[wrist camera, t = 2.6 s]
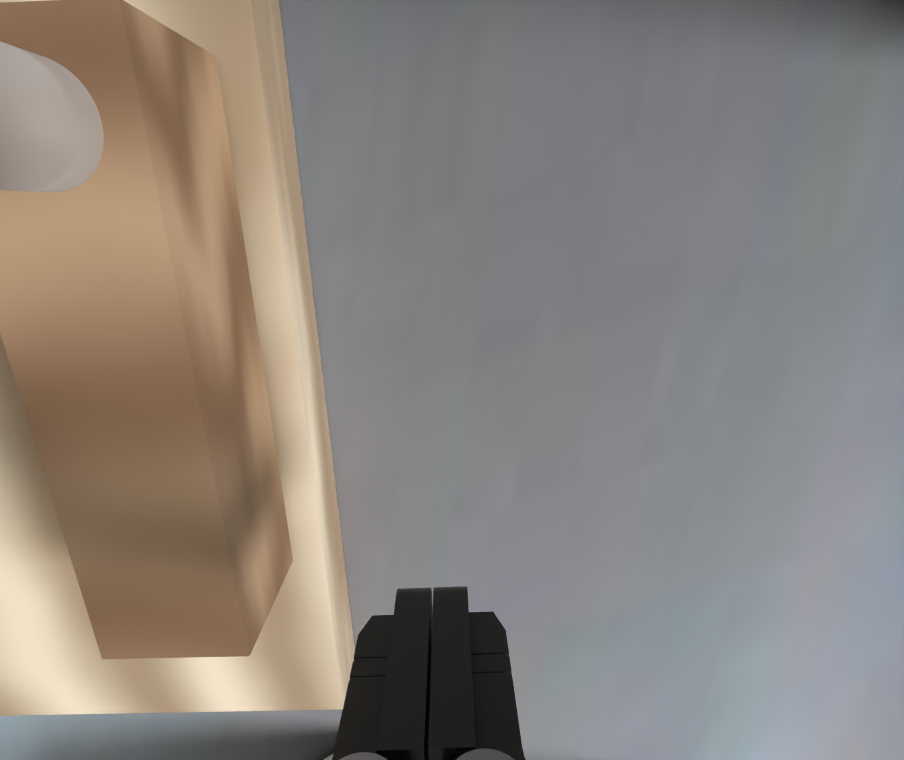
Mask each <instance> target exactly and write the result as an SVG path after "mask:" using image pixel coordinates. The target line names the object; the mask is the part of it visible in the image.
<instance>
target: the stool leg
mask: <svg viewBox="0 0 904 760" xmlns="http://www.w3.org/2000/svg"><path fill="white" fill-rule="evenodd" d="M0 334H1V337H2V340H3V343H4V347H5V350H6V353H7V356H8V359H9V363H10V366H11V369H12V372H13V375H14V379H15V382H16V385H17V388H18V391H19V395H20V398H21V401H22V404H23V407H24V411H25V414H26V417H27V420H28V423H29V427H30V430H31V433H32V436H33V440H34V443H35V446H36V449H37V452H38V456H39V459H40V462H41V465H42V468H43V472H44V475H45V478H46V481H47V484H48V488H49V491H50V494H51V497H52V500H53V504H54V507H55V510H56V513H57V516H58V520H59V523H60V526H61V529H62V532H63V536H64V539H65V542H66V545H67V548H68V552H69V555H70V558H71V561H72V564H73V568H74V571H75V574H76V577H77V581H78V584H79V587H80V590H81V593H82V597H83V600H84V603H85V606H86V609H87V613H88V616H89V619H90V622H91V625H92V629H93V632H94V635H95V638H96V641H97V645H98V648H99V651H100V654H101V657H102V659H142V658H191V657H240V656H250V654H251V652H252V650H253V648H254V645H255V643H256V641H257V639H258V637H259V634H260V632H261V630H262V628H263V626H264V623H265V621H266V619H267V617H268V615H269V612H270V610H271V608H272V606H273V604H274V601H275V599H276V597H277V595H278V593H279V590H280V588H281V586H282V584H283V582H284V579H285V577H286V575H287V573H288V571H289V568H290V566H291V564H292V562H293V557H292V550H291V544H290V537H289V531H288V524H287V518H286V511H285V505H284V498H283V492H282V485H281V479H280V472H279V466H278V459H277V453H276V446H275V440H274V433H273V426H272V420H271V413H270V407H269V400H268V394H267V387H266V381H265V374H264V368H263V361H262V355H261V348H260V342H259V335H258V329H257V322H256V316H255V309H254V303H253V296H252V290H251V283H250V276H249V270H248V263H247V257H246V250H245V244H244V237H243V231H242V224H241V218H240V211H239V205H238V198H237V192H236V185H235V179H234V172H233V166H232V159H231V153H230V146H229V139H228V133H227V126H226V120H225V113H224V107H223V100H222V94H221V87H220V81H219V74H218V68H217V61H216V56H215V55H213V54H211V53H210V52H208V51H206V50H205V49H203V48H201V47H200V46H198V45H196V44H195V43H193V42H192V41H190V40H188V39H187V38H185V37H183V36H182V35H180V34H178V33H177V32H175V31H173V30H172V29H170V28H168V27H167V26H165V25H164V24H162V23H160V22H159V21H157V20H155V19H154V18H152V17H150V16H149V15H147V14H145V13H144V12H142V11H140V10H139V9H137V8H136V7H134V6H132V5H131V4H129V3H127V2H126V1H124V0H48V1H24V2H0Z"/></svg>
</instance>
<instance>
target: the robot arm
mask: <svg viewBox="0 0 904 760" xmlns="http://www.w3.org/2000/svg"><path fill="white" fill-rule="evenodd" d="M332 760H525V757H524V754H523V749H522V743H521V736H520V729H519V722H518V715H517V708H516V701H515V694H514V687H513V679H512V674H511V665H510V658H509V651H508V644H507V637H506V630H505V629H504V627H503V626H502V624H501V623H500V621H499V620H498V618H497V617H496V615H495V614H494V613H493V612H469V611H468V593H467V587H437V588H434V594H433V607H432V590H431V588H410V589H398V590H397V594H396V601H395V609H394V615H378V616H372V617H371V618H370V619H369V621H368V622H367V624H366V625H365V626H364V628H363V629H362V631H361V632H360V633H359V635H358V639H357V644H356V648H355V653H354V661H353V663H352V668H351V673H350V681H349V682H348V687H347V692H346V697H345V701H344V706H343V711H342V716H341V721H340V726H339V730H338V735H337V740H336V745H335V750H334V754H333V758H332Z"/></svg>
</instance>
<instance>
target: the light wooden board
mask: <svg viewBox="0 0 904 760" xmlns="http://www.w3.org/2000/svg"><path fill="white" fill-rule="evenodd" d="M24 1H48V0H0V2H24ZM124 1H126V2H127V3H129V4H131V5H132V6H134V7H136V8H137V9H139V10H140V11H142V12H144V13H145V14H147V15H149V16H150V17H152V18H154V19H155V20H157V21H159V22H160V23H162V24H164V25H165V26H167V27H168V28H170V29H172V30H173V31H175V32H177V33H178V34H180V35H182V36H183V37H185V38H187V39H188V40H190V41H192V42H193V43H195V44H196V45H198V46H200V47H201V48H203V49H205V50H206V51H208V52H210V53H211V54H213V55H215V56H216V61H217V68H218V74H219V81H220V87H221V94H222V100H223V107H224V113H225V120H226V126H227V133H228V139H229V146H230V153H231V159H232V166H233V172H234V179H235V185H236V192H237V198H238V205H239V211H240V218H241V224H242V231H243V237H244V244H245V250H246V257H247V263H248V270H249V276H250V283H251V290H252V296H253V303H254V309H255V316H256V322H257V329H258V335H259V342H260V348H261V355H262V361H263V368H264V374H265V381H266V387H267V394H268V400H269V407H270V413H271V420H272V426H273V433H274V440H275V446H276V453H277V459H278V466H279V472H280V479H281V485H282V492H283V498H284V505H285V511H286V518H287V524H288V531H289V537H290V544H291V550H292V557H293V562H292V564H291V566H290V568H289V571H288V573H287V575H286V577H285V579H284V582H283V584H282V586H281V588H280V590H279V593H278V595H277V597H276V599H275V601H274V604H273V606H272V608H271V610H270V612H269V615H268V617H267V619H266V621H265V623H264V626H263V628H262V630H261V632H260V634H259V637H258V639H257V641H256V643H255V645H254V648H253V650H252V652H251V654H250V656H240V657H191V658H142V659H102V657H101V654H100V651H99V648H98V645H97V641H96V638H95V635H94V632H93V629H92V625H91V622H90V619H89V616H88V613H87V609H86V606H85V603H84V600H83V597H82V593H81V590H80V587H79V584H78V581H77V577H76V574H75V571H74V568H73V564H72V561H71V558H70V555H69V552H68V548H67V545H66V542H65V539H64V536H63V532H62V529H61V526H60V523H59V520H58V516H57V513H56V510H55V507H54V504H53V500H52V497H51V494H50V491H49V488H48V484H47V481H46V478H45V475H44V472H43V468H42V465H41V462H40V459H39V456H38V452H37V449H36V446H35V443H34V440H33V436H32V433H31V430H30V427H29V423H28V420H27V417H26V414H25V411H24V407H23V404H22V401H21V398H20V395H19V391H18V388H17V385H16V382H15V379H14V375H13V372H12V369H11V366H10V363H9V359H8V356H7V353H6V350H5V347H4V343H3V340H2V337H1V334H0V716H5V715H59V714H113V713H167V712H220V711H274V710H328V709H343V706H344V701H345V697H346V692H347V687H348V682H349V681H350V673H351V668H352V663H353V661H354V653H355V648H354V639H353V631H352V622H351V614H350V605H349V597H348V588H347V579H346V571H345V562H344V554H343V545H342V537H341V528H340V519H339V511H338V502H337V494H336V485H335V477H334V468H333V459H332V451H331V442H330V434H329V425H328V417H327V408H326V399H325V391H324V382H323V374H322V365H321V357H320V348H319V339H318V331H317V322H316V314H315V305H314V297H313V288H312V279H311V271H310V262H309V254H308V245H307V237H306V228H305V219H304V211H303V202H302V194H301V185H300V177H299V168H298V159H297V151H296V142H295V134H294V125H293V117H292V108H291V99H290V91H289V82H288V74H287V65H286V57H285V48H284V39H283V31H282V22H281V14H280V5H279V0H124Z"/></svg>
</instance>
